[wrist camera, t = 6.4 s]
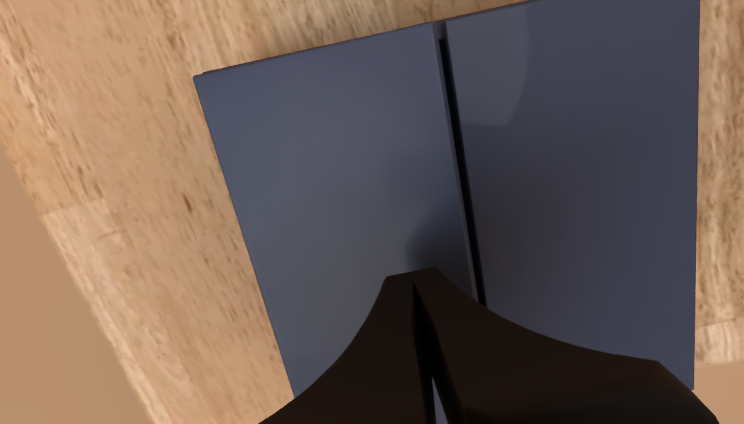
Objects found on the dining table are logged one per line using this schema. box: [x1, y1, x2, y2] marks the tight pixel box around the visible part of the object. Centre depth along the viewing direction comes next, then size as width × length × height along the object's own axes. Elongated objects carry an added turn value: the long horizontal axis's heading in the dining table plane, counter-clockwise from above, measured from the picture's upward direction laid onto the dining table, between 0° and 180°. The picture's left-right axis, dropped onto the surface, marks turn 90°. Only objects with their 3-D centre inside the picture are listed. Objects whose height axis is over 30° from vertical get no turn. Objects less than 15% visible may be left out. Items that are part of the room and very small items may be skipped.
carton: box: [202, 0, 700, 390], centre depth 17 cm, size 13×13×7 cm
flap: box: [193, 21, 479, 424], centre depth 13 cm, size 13×6×1 cm, turn 12°
